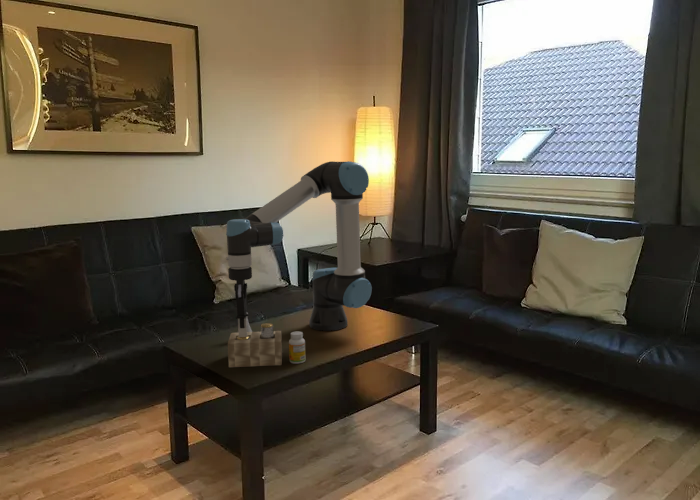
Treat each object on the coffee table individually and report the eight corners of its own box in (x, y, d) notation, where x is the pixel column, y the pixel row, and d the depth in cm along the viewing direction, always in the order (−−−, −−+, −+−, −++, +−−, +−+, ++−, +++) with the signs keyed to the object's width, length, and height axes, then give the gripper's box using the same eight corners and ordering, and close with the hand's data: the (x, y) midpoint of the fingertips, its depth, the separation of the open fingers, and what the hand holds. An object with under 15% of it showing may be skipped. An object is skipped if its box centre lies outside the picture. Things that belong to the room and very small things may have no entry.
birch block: (281, 352, 215) (281, 330, 214) (281, 364, 203) (280, 341, 202) (232, 355, 214) (231, 332, 212) (228, 367, 202) (227, 343, 200)
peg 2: (274, 345, 210) (273, 322, 209) (273, 349, 206) (272, 326, 205) (262, 346, 210) (261, 323, 209) (261, 350, 206) (260, 326, 205)
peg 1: (250, 357, 210) (249, 335, 209) (249, 361, 206) (248, 338, 205) (238, 358, 210) (237, 335, 208) (237, 362, 206) (236, 339, 205)
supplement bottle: (289, 358, 209) (288, 330, 208) (305, 358, 210) (304, 330, 208) (289, 364, 204) (288, 335, 202) (305, 363, 204) (304, 335, 203)
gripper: (230, 263, 209) (233, 331, 213) (226, 271, 196) (229, 343, 200) (252, 262, 210) (255, 330, 213) (250, 270, 197) (253, 342, 201)
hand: (242, 336), depth 207 cm, fingers closed
